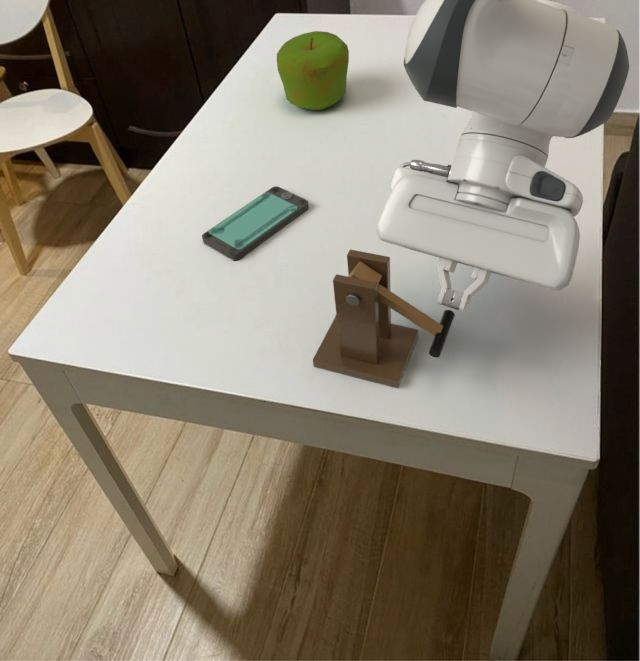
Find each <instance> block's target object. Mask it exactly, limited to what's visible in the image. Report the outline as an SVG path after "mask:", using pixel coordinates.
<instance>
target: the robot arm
mask: <svg viewBox="0 0 640 661" xmlns="http://www.w3.org/2000/svg"><path fill="white" fill-rule="evenodd" d="M625 42H626V41H625V39H624V37H623V35H622V33H621V32H620V31H619V30H618V29H615V28H614V27H612V26H610V25H609V24H606V23H604V22H602V21H599V20H598V19H595V18H591V17H588V16H585V15H583V14H579V13H578V12H577V11H576V10H575V9H574V8H572V7H571V6H569V5H567V4H565V3H564V2H563V3H562V2H560V1H558V0H423V2H422V4H421V6H420V7H419V9H418V11H417V12H416V14H415V16H414V18H413V20H412V22H411V25H410V28H409V30H408V34H407V38H406V42H405V47H404V57H403V67H404V69H405V72H406V74H407V77H408V78H409V80H410V82H411V84H412V86H413V87H414V89H415V90H416V92H417V93H418V95H419V96H420V98H421V99H422V101H424V102H428V103H432V104H438V105H442V106H446V107H450V108H454V109H457V108H461V109H464V110H467V111H470V112H472V113H471V115H470V118H469V121H468V122H467V123H466V126H464V128H463V130H462V132H461V134H460V137H459V140H458V144H457V147H456V150H455V153H454V156H453V160H452V163H451V165H452V166H451V167H449V166H448V165H443V164H439V163H430V162H425V161H424V160H422V159H412V160H411V161H408V162H407V161H406V162H404V163H402V164H401V165H399V166H398V167H397V168H396V169H395V171H394V173H393V176H392V180H391V182H390V193H389V195H388V197H387V199H386V201H385V203H384V206H383V208H382V211H381V212H380V215H379V218H378V221H377V223H376V227H375V230H376V234H377V236H378V239H379V240H380V241H382V242H383V243H386V244H390V245H393V246H396V247H400V248H404V249H408V250H411V251H415V252H419V253H422V254H425V255H428V256H432V257H435V258H439V259H438V262H437V265H436V272H437V276H438V282H439V286H440V291H439V294H438V297H437V301H436V304H437V305H441V306H443V307H447V308H449V309H450V308H451V309H454V310H457V311H460V312H463V313H467V312H468V310H469V306H470V304H471V301H472V298H473V297H474V296H475V295H476V294H478V293H479V292H480V291H481V290H482V289H483V288H484V287H485V286H487V285H488V283H489V281H490V278H491V274H492V273H493V274H496V275H499V276H502V277H505V278H511V279H514V280H517V281H520V282H525V283H526V284H527V283H528V284H531V285H535V286H538V287H542V288H545V289H549V290H552V291H556V292H559V291H562V290H563V289H565V288H567V287H569V285H570V283H571V280H572V277H573V274H574V271H575V268H576V263H577V258H578V253H579V247H580V238H581V234H580V233H581V232H580V228H579V225H578V222H577V220H576V218H575V217H576V216H578V215H579V213H580V211H581V209H582V206H583V204H584V202H583V201H584V197H583V194H582V192H581V190H580V188H579V187H578V186H577V185H576V184H575V183H573V182H571V181H570V180H568V179H566V178H564V177H562V176H560V175H559V174H557V173H555V172H554V171H551V170H550V169H549V168H547V167H546V165H547V162H548V159H549V151H550V143H551V141H552V138H553V137H558V138H565V139H575V138H578V137H580V136H582V135H585V134H587V133H589V132H591V131H594V130H595V129H597V128H599V127H600V126H602V125H604V124H605V123H607V122H608V121H609V119H611V117H612V115H613V113H614V111H615V110H616V107H617V105H618V103H619V101H620V98H621V96H622V92H623V91H624V88H625V85H626V82H627V79H628V76H629V70H630V60H629V54H628V49H627V46H626V43H625ZM408 167H409V168H408ZM458 264H461V265H464V266H468V267H471V268H473V269H472V273H471V275H470V277H471V278H472V279H474V281H473V282H472V283H471V284H470V285H469V286H468V287H467V288H466V289H464V291H462V292H461V291H456V290H454V289H453V288H452V283H451V278H450V273H455V271H456V269H457V265H458Z"/></svg>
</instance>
